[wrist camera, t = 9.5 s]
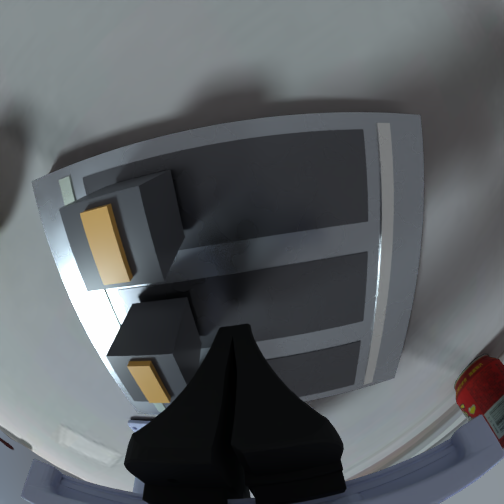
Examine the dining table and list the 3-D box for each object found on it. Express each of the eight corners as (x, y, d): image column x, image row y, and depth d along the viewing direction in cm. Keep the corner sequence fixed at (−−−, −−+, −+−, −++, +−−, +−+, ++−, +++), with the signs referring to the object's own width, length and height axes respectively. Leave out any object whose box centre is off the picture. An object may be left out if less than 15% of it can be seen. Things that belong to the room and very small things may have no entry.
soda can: (440, 391, 22) (486, 470, 11) (482, 344, 20) (541, 418, 9) (461, 395, 24) (500, 460, 13) (497, 355, 22) (545, 416, 10)
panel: (387, 365, 19) (394, 378, 17) (142, 399, 19) (138, 414, 18) (404, 115, 12) (421, 114, 10) (46, 176, 12) (30, 181, 10)
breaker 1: (185, 237, 12) (162, 286, 8) (124, 247, 12) (83, 296, 8) (170, 169, 11) (135, 187, 7) (108, 185, 11) (53, 211, 7)
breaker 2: (201, 343, 14) (194, 406, 10) (151, 346, 14) (133, 405, 10) (186, 296, 13) (171, 359, 9) (132, 303, 13) (103, 361, 9)
